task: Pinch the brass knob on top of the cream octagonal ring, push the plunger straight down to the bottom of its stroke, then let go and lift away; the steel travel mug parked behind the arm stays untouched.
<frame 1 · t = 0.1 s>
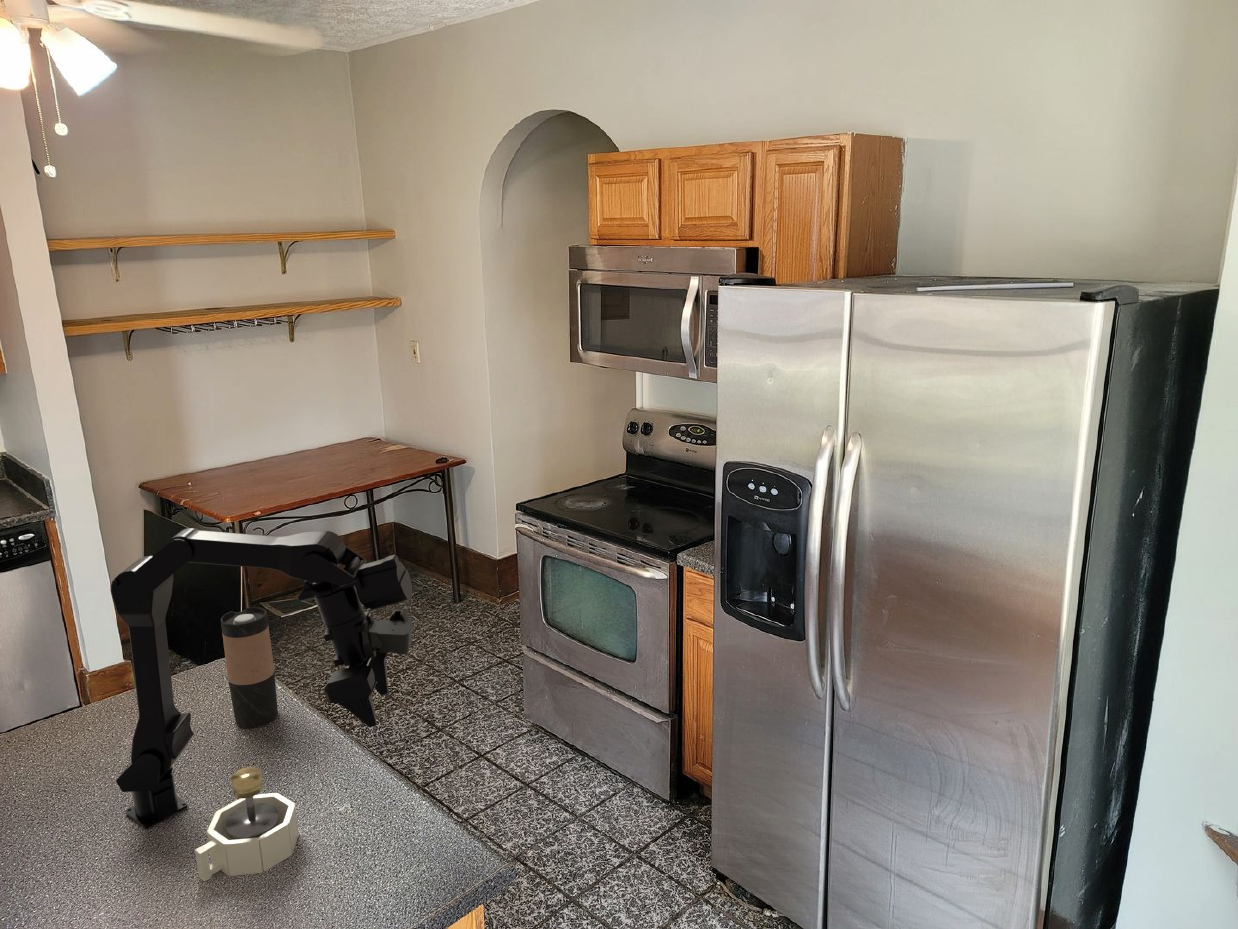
hand: (379, 709, 133), 15 cm above the counter, tool pointing down, fingers open, 9 cm apart
travel mug: (257, 719, 160), on the counter
cream octagonal ring: (256, 848, 126), on the counter
plunger: (249, 799, 124), point 8 cm above the counter, slide at 0.0 cm
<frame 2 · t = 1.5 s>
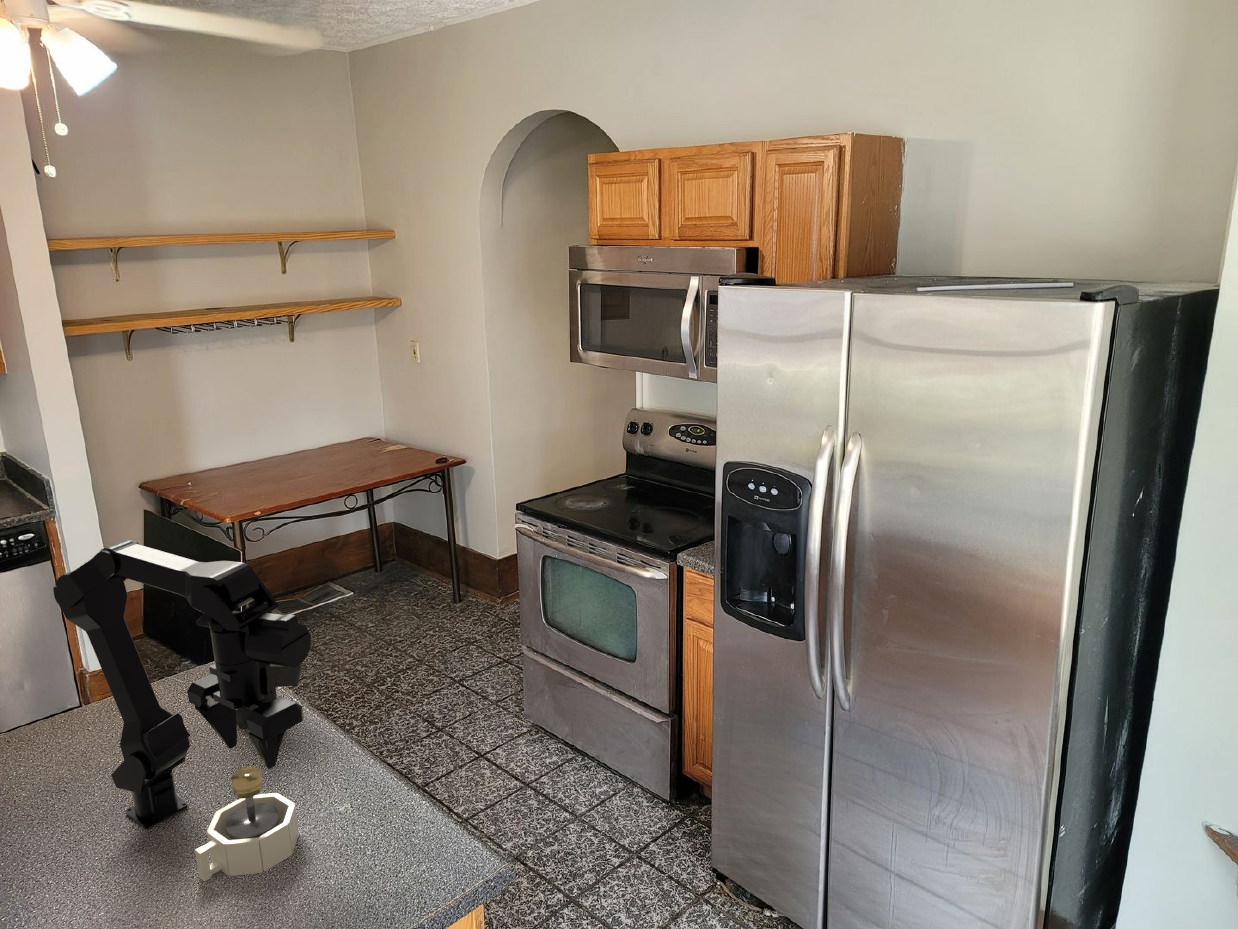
hand: (251, 757, 125), 13 cm above the counter, tool pointing down, fingers open, 9 cm apart
nothing on the counter moved.
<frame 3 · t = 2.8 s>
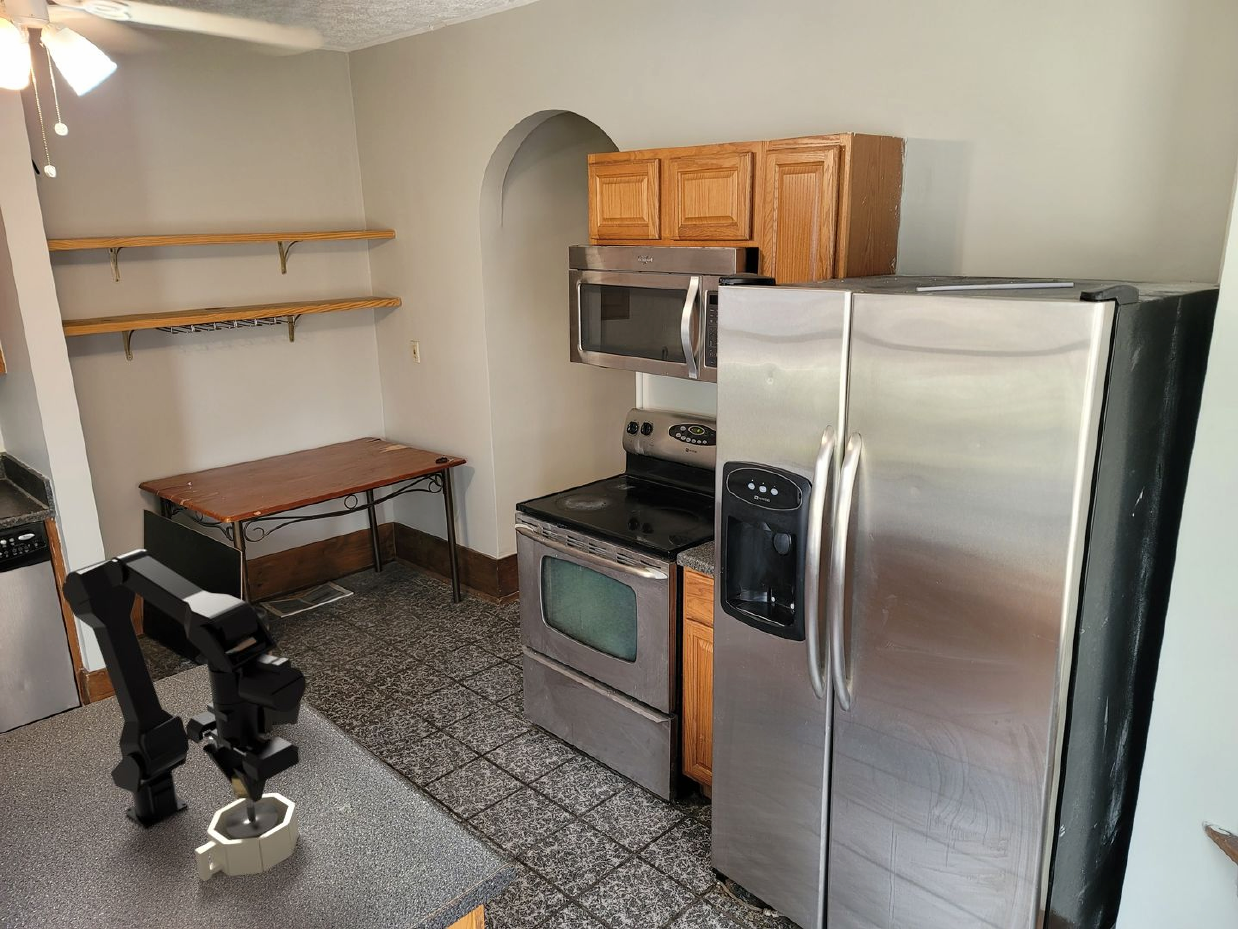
hand: (248, 795, 124), 9 cm above the counter, tool pointing down, fingers closed on plunger, 4 cm apart
plunger: (249, 799, 124), point 8 cm above the counter, slide at 0.0 cm, touching gripper
everything else where it was.
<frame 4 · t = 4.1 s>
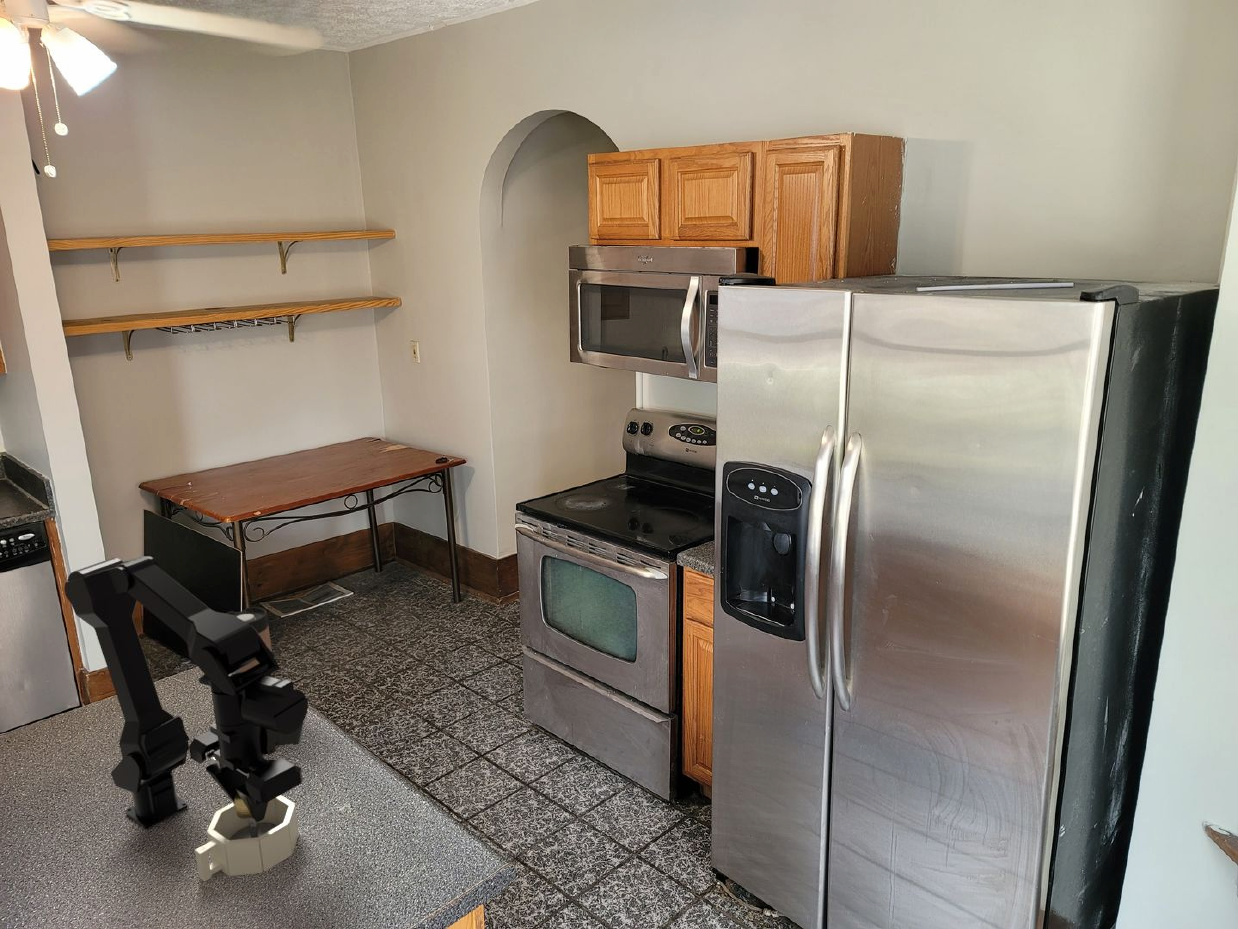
hand: (251, 815, 125), 5 cm above the counter, tool pointing down, fingers closed on plunger, 4 cm apart
plunger: (252, 819, 125), point 5 cm above the counter, slide at 3.2 cm, touching gripper
everything else where it was.
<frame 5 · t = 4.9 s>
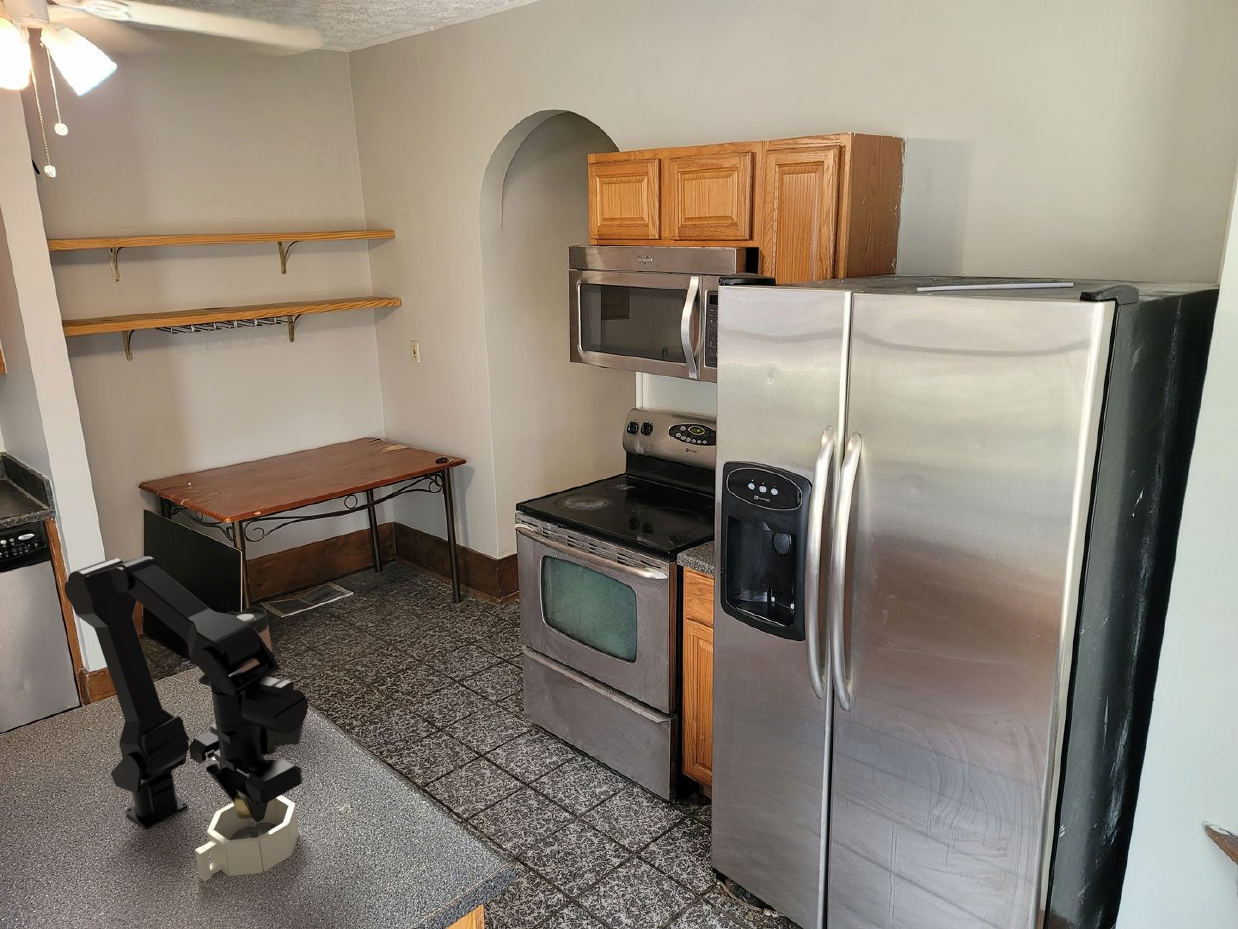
hand: (251, 815, 125), 5 cm above the counter, tool pointing down, fingers closed on plunger, 4 cm apart
plunger: (252, 819, 125), point 5 cm above the counter, slide at 3.2 cm, touching gripper
everything else where it was.
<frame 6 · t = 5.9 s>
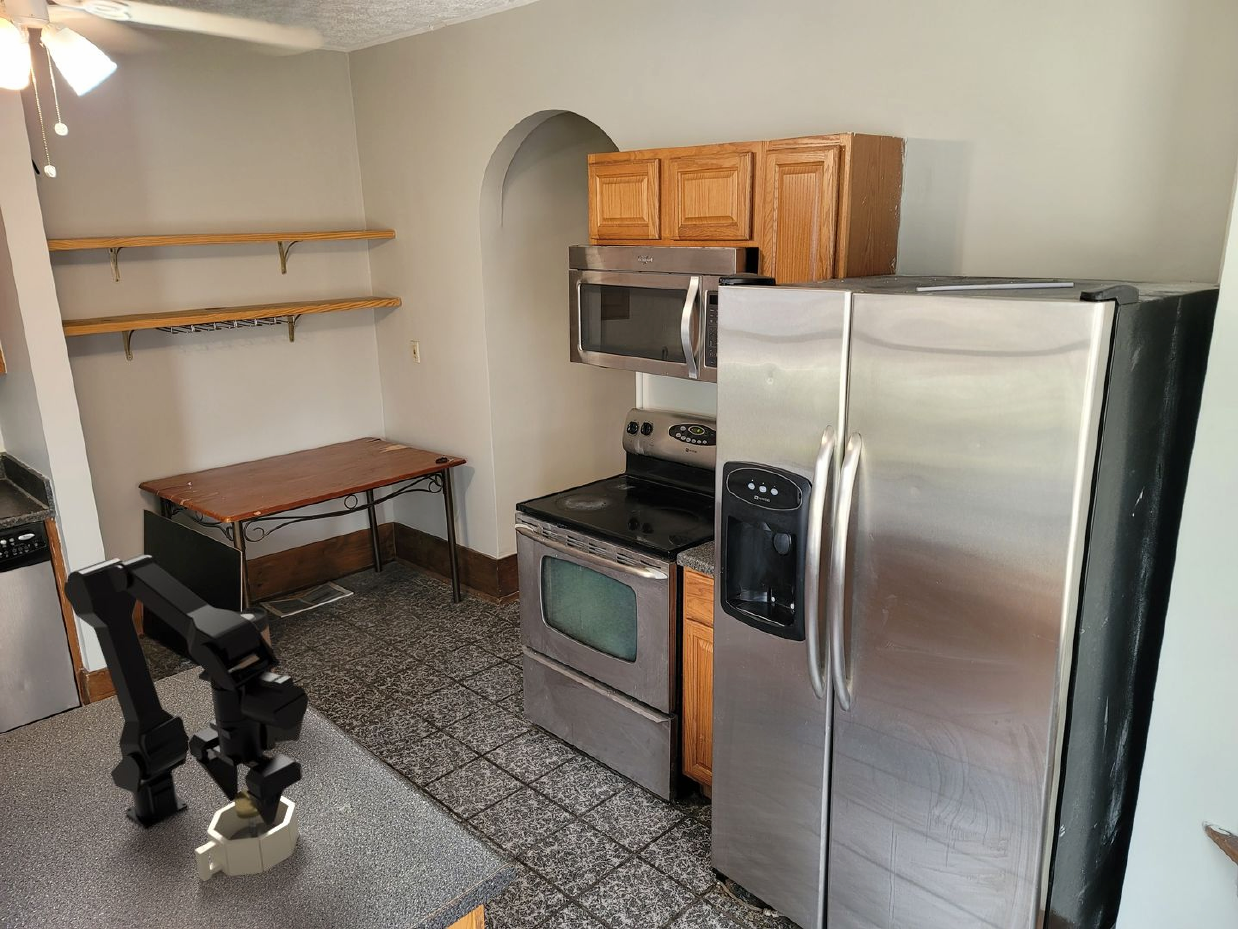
hand: (251, 811, 125), 6 cm above the counter, tool pointing down, fingers open, 9 cm apart
plunger: (252, 819, 125), point 5 cm above the counter, slide at 3.2 cm
everything else where it was.
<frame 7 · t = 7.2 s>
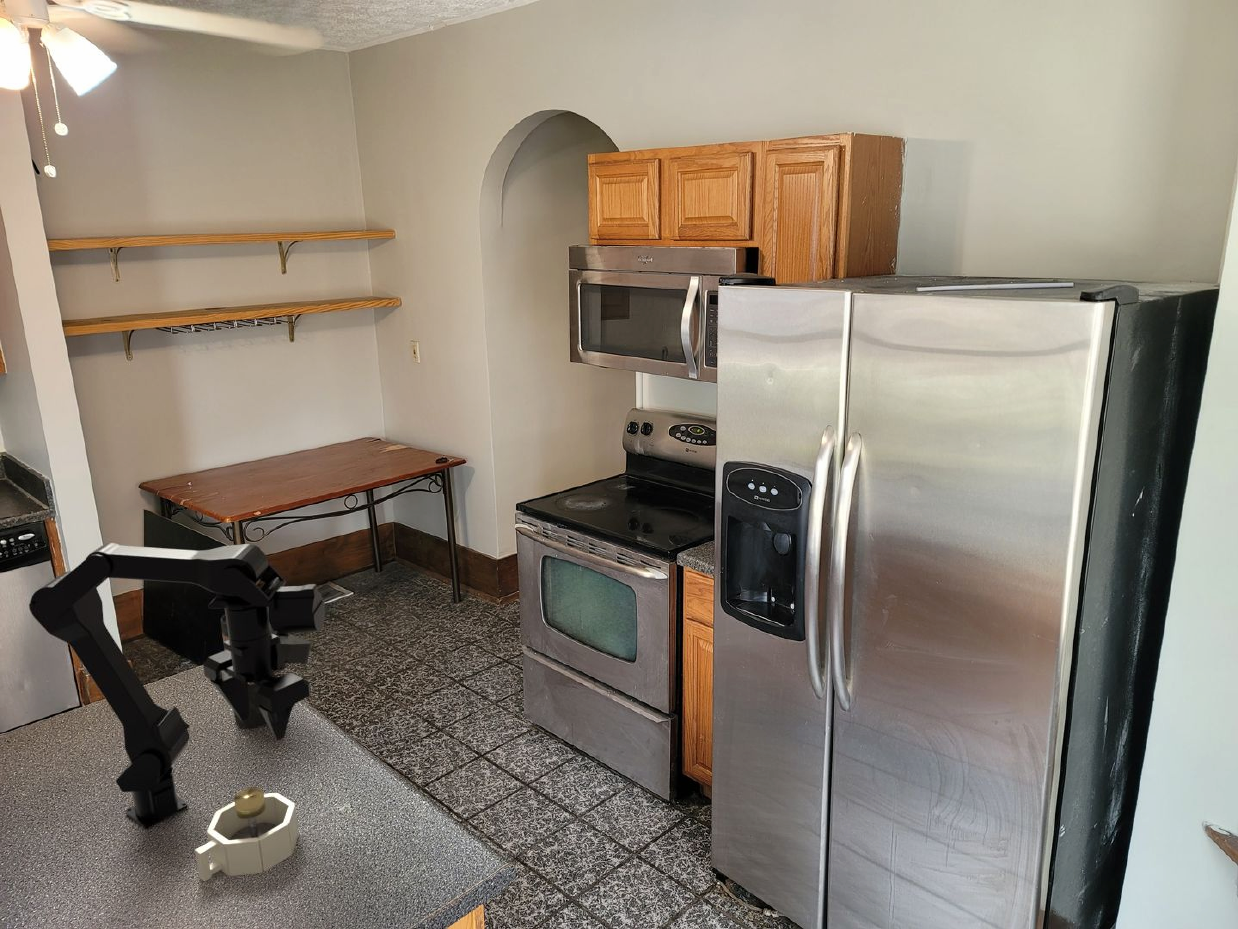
hand: (262, 729, 132), 13 cm above the counter, tool pointing down, fingers open, 9 cm apart
nothing on the counter moved.
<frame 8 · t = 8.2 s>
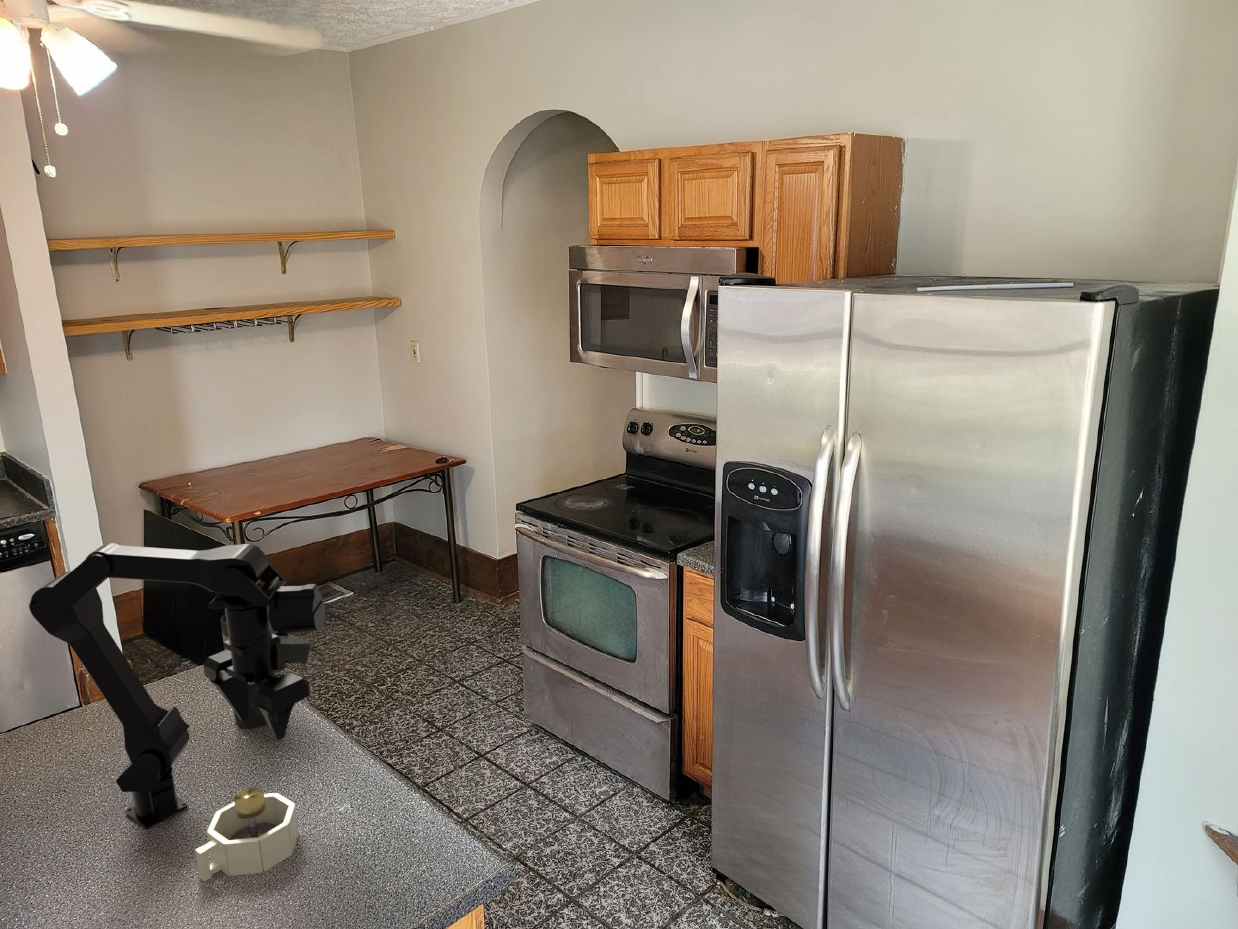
hand: (262, 729, 132), 13 cm above the counter, tool pointing down, fingers open, 9 cm apart
nothing on the counter moved.
at the end: plunger slide at 3.2 cm; the gripper is holding nothing; travel mug moved 0.2 cm from its start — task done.
